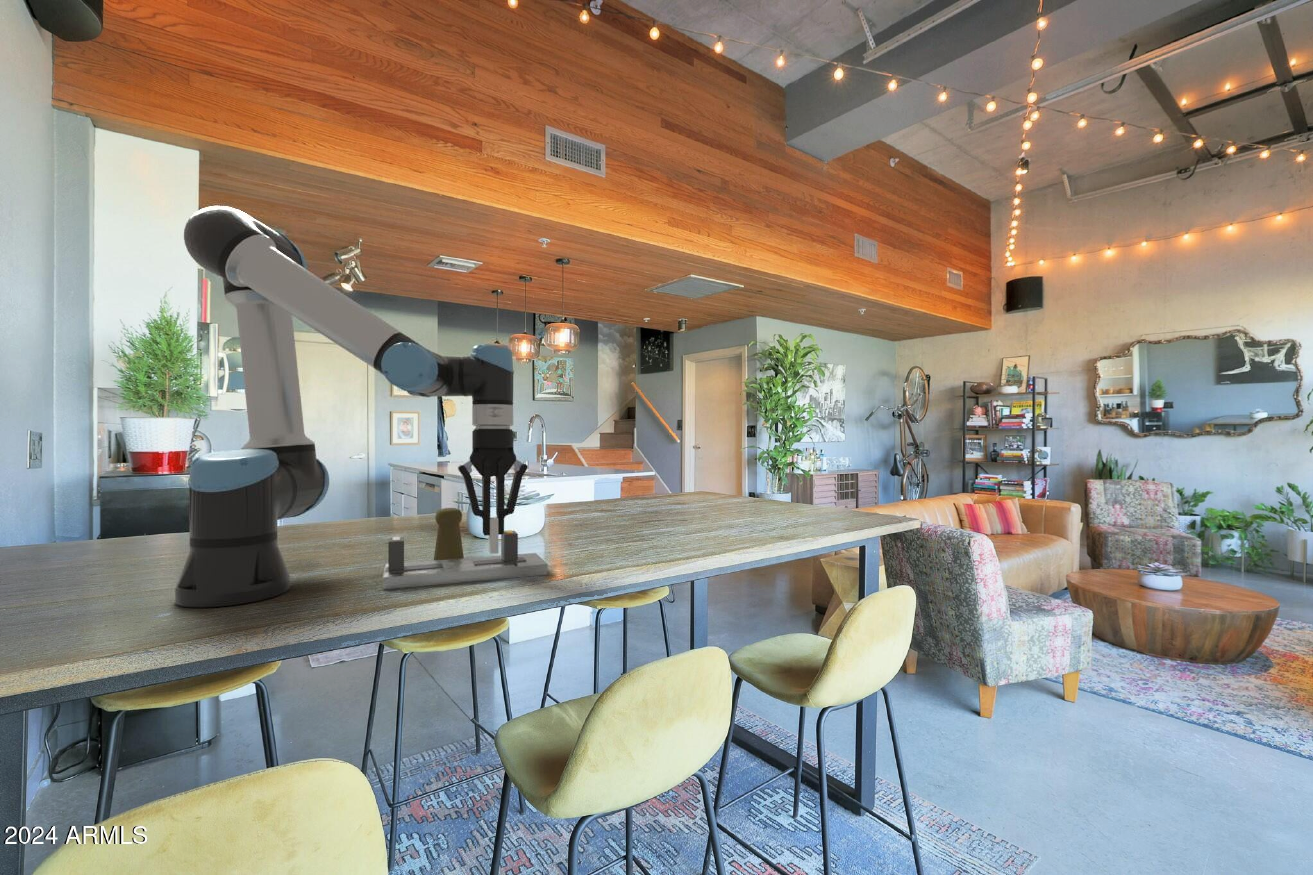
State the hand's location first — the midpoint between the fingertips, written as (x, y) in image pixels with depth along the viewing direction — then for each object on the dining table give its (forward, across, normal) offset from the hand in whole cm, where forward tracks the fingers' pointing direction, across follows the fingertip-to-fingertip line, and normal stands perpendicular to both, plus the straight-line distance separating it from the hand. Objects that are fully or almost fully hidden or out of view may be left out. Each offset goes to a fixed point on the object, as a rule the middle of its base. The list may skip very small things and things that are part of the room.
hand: (493, 552), depth 111 cm
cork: (+4, -7, +14) cm, 16 cm away
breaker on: (+1, -17, 0) cm, 17 cm away
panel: (+4, -5, 0) cm, 6 cm away
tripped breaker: (+2, +3, 0) cm, 3 cm away
